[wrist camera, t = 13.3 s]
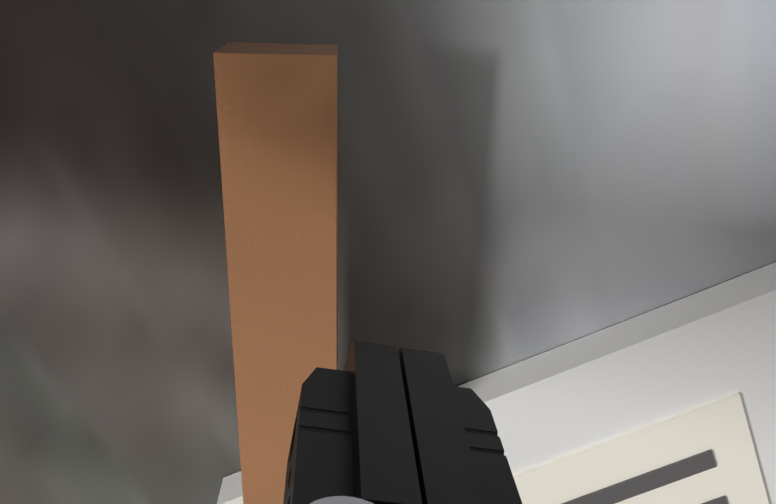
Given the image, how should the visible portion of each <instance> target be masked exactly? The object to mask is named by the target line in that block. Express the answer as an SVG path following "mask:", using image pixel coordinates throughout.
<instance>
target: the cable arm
mask: <svg viewBox="0 0 776 504" xmlns="http://www.w3.org/2000/svg"><path fill="white" fill-rule="evenodd" d="M213 59H214V74H215V89H216V104H217V119H218V134H219V148H220V163H221V178H222V193H223V208H224V223H225V238H226V253H227V268H228V282H229V297H230V312H231V327H232V342H233V357H234V372H235V387H236V402H237V416H238V431H239V446H240V461H241V476H242V491H243V504H283V501H284V491H285V480H286V470H287V461H288V455H289V450H290V445H291V440H292V434H293V429H294V424H295V419H296V413H297V408H298V403H299V398H300V392H301V387H302V384H303V382H304V381H305V380H306V379H307V378H308V377H309V376H310V374H311V373H312V372H313V371H314V370H315V369H316V367H320V368H327V369H334V370H338V44H300V43H258V42H229V43H227V44H226V45H224V46H223V47H221V48H220V49H218V50H217V51H215V52H214V53H213Z"/></svg>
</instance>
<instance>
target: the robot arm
mask: <svg viewBox="0 0 776 504" xmlns="http://www.w3.org/2000/svg"><path fill="white" fill-rule="evenodd" d="M283 504H522V501H521V498H520V495H519V492H518V489H517V486H516V483H515V481H514V478H513V475H512V472H511V469H510V466H509V463H508V460H507V457H506V456H504V448H503V445H502V442H501V440H500V437H499V436H498V431H497V428H496V425H495V422H494V419H493V416H492V413H491V410H490V409H489V408H488V407H487V405H486V404H485V403H484V402H483V401H482V400H481V399H480V398H479V396H478V395H477V394H476V393H475V392H474V391H473V390H472V389H471V388H464V387H457V386H453V384H452V381H451V377H450V374H449V370H448V366H447V363H446V359H445V356H444V355H443V354H440V353H433V352H426V351H419V350H412V349H405V348H399V349H397V348H396V347H391V346H384V345H377V344H370V343H363V342H357V341H352V343H351V346H350V349H349V353H348V357H347V362H346V366H345V371H341V370H334V369H327V368H320V367H316V369H315V370H314V371H313V372H312V373H311V374H310V376H309V377H308V378H307V379H306V380H305V381H304V382H303V384H302V387H301V392H300V398H299V403H298V408H297V413H296V419H295V424H294V429H293V434H292V440H291V445H290V450H289V455H288V461H287V470H286V480H285V491H284V501H283Z"/></svg>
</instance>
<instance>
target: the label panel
mask: <svg viewBox="0 0 776 504" xmlns="http://www.w3.org/2000/svg"><path fill="white" fill-rule="evenodd" d="M457 387H464V388H471V389H472V390H473V391H474V392H475V393H476V394H477V395H478V396H479V398H480V399H481V400H482V401H483V402H484V403H485V404H486V405H487V407H488V408H489V409H490V410H491V413H492V416H493V419H494V422H495V425H496V428H497V431H498V436H499V437H500V440H501V442H502V445H503V448H504V456H506V457H507V460H508V463H509V466H510V469H511V472H512V475H513V478H514V481H515V483H516V486H517V489H518V492H519V495H520V498H521V501H522V504H776V262H774V263H772V264H769V265H767V266H764V267H762V268H759V269H757V270H754V271H751V272H749V273H746V274H744V275H741V276H739V277H736V278H733V279H731V280H728V281H726V282H723V283H721V284H718V285H716V286H713V287H710V288H708V289H705V290H703V291H700V292H698V293H695V294H693V295H690V296H687V297H685V298H682V299H680V300H677V301H675V302H672V303H669V304H667V305H664V306H662V307H659V308H657V309H654V310H652V311H649V312H646V313H644V314H641V315H639V316H636V317H634V318H631V319H629V320H626V321H623V322H621V323H618V324H616V325H613V326H611V327H608V328H605V329H603V330H600V331H598V332H595V333H593V334H590V335H588V336H585V337H582V338H580V339H577V340H575V341H572V342H570V343H567V344H565V345H562V346H559V347H557V348H554V349H552V350H549V351H547V352H544V353H541V354H539V355H536V356H534V357H531V358H529V359H526V360H524V361H521V362H518V363H516V364H513V365H511V366H508V367H506V368H503V369H501V370H498V371H495V372H493V373H490V374H488V375H485V376H483V377H480V378H477V379H475V380H472V381H470V382H467V383H465V384H462V385H460V386H457ZM217 504H243V491H242V476H241V471H239V472H237V473H234V474H232V475H229V476H227V477H224V478H223V481H222V485H221V489H220V494H219V498H218V502H217Z"/></svg>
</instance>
